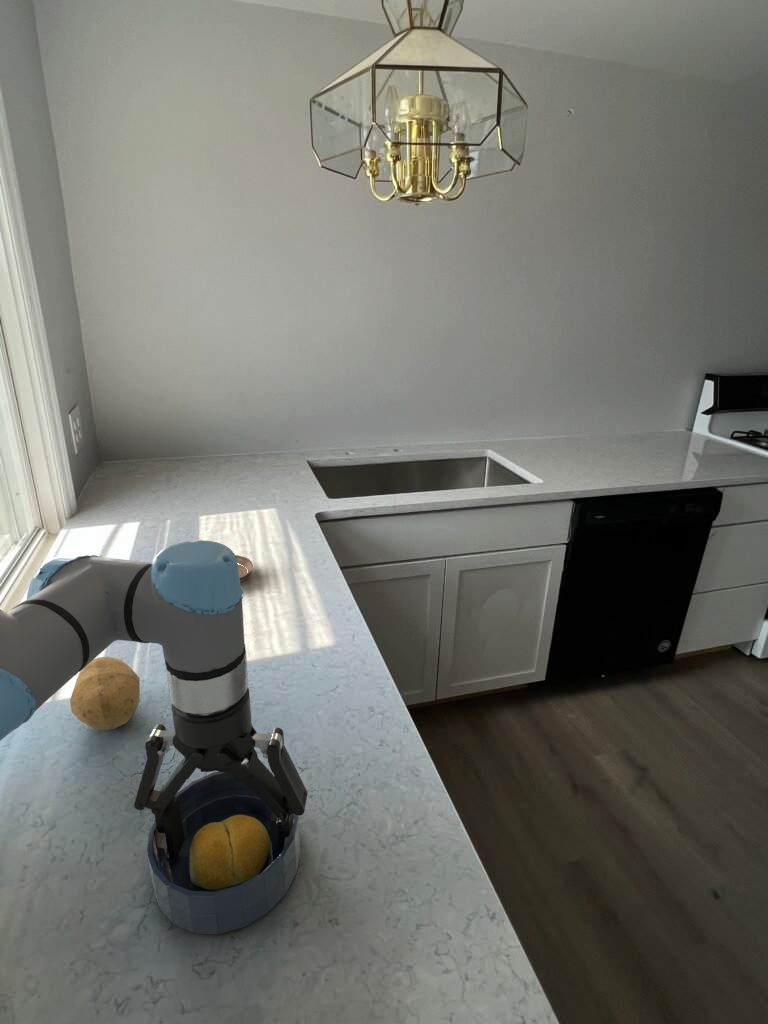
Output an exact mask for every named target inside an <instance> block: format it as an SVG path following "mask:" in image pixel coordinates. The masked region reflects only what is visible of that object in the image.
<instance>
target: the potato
mask: <svg viewBox="0 0 768 1024" xmlns="http://www.w3.org/2000/svg"><path fill="white" fill-rule="evenodd" d="M140 681H141V680H140V677H139V676H138V674H137V673H136V672H135V670H133V669H132V667H131V666H129V665H128V664H127V663H126V662H125V661H123V660H122V659H121V658H116V657H112V656H101V657H98V656H97V657H96V658H95V659H94V660H92V661H91V662H90V663H89V664H88V665H87V666H86V667H85V668H83V669H82V670H81V671H80V672H78V674H77V678H76V680H75V683H74V687H73V690H72V693H71V696H70V699H69V703H70V710H71V713H72V714H73V715H74V716H75V718H77V719H78V721H80V722H81V723H83V724H85V725H86V726H88V727H89V728H93V729H97V730H100V731H107V730H108V731H109V730H116V729H118V728H119V727H121V726H124V725H125V724H127V723H128V722H129V721H130V720H131V718H132V716H133V715H134V714H135V711H136V710H137V709H138V707H139V703H140V699H141V698H140V697H141V690H140V689H141V686H140Z"/></svg>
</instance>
